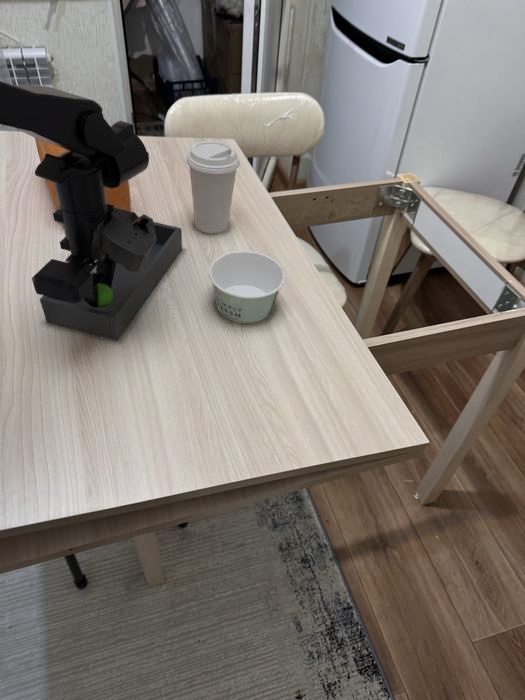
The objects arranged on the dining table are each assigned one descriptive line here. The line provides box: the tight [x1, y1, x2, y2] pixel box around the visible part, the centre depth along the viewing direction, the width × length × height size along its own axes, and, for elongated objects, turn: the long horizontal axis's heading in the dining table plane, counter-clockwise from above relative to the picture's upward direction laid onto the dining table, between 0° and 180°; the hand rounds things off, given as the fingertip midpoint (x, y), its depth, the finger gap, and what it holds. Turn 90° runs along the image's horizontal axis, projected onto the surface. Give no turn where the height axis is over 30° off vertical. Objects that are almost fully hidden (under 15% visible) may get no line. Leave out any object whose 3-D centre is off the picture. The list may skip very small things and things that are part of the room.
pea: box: [98, 283, 113, 307], centre depth 71 cm, size 4×4×4 cm
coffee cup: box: [185, 140, 241, 235], centre depth 91 cm, size 10×10×15 cm
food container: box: [208, 250, 286, 324], centre depth 78 cm, size 12×12×6 cm
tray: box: [39, 221, 183, 342], centre depth 80 cm, size 12×26×4 cm, turn 165°
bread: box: [34, 138, 132, 225], centre depth 94 cm, size 14×26×16 cm, turn 25°
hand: (100, 299), depth 71 cm, fingers closed on pea, 3 cm apart
